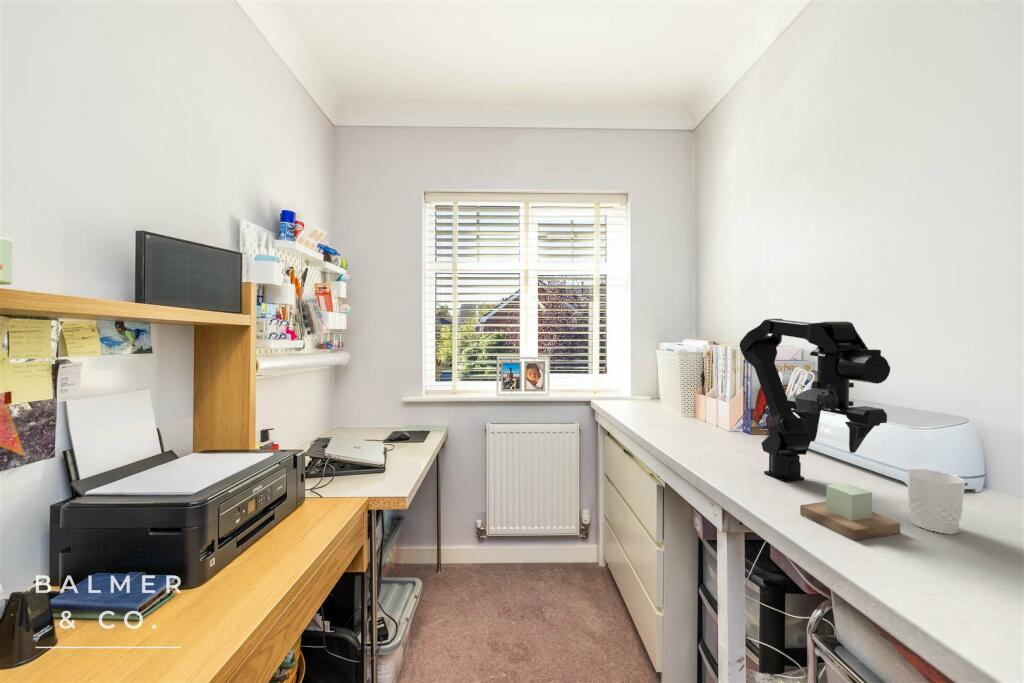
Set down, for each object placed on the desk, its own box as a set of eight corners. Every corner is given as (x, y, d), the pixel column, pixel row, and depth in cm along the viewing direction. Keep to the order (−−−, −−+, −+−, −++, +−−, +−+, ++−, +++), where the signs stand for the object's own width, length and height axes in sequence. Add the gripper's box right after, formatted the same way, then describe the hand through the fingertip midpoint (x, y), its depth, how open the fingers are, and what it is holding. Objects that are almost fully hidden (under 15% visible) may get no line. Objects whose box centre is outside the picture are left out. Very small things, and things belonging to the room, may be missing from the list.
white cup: (945, 539, 77) (947, 485, 76) (895, 519, 84) (897, 471, 84) (973, 533, 79) (975, 480, 79) (923, 514, 86) (924, 467, 86)
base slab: (800, 514, 87) (800, 505, 87) (841, 508, 90) (841, 499, 90) (854, 541, 76) (855, 530, 76) (900, 533, 79) (900, 523, 79)
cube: (826, 509, 85) (826, 485, 84) (845, 507, 86) (845, 483, 86) (851, 521, 80) (851, 495, 80) (871, 517, 81) (872, 492, 81)
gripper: (768, 374, 101) (767, 438, 101) (847, 384, 82) (845, 462, 83) (805, 372, 103) (804, 435, 104) (890, 382, 85) (887, 458, 86)
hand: (831, 446), depth 94 cm, fingers open, 9 cm apart
